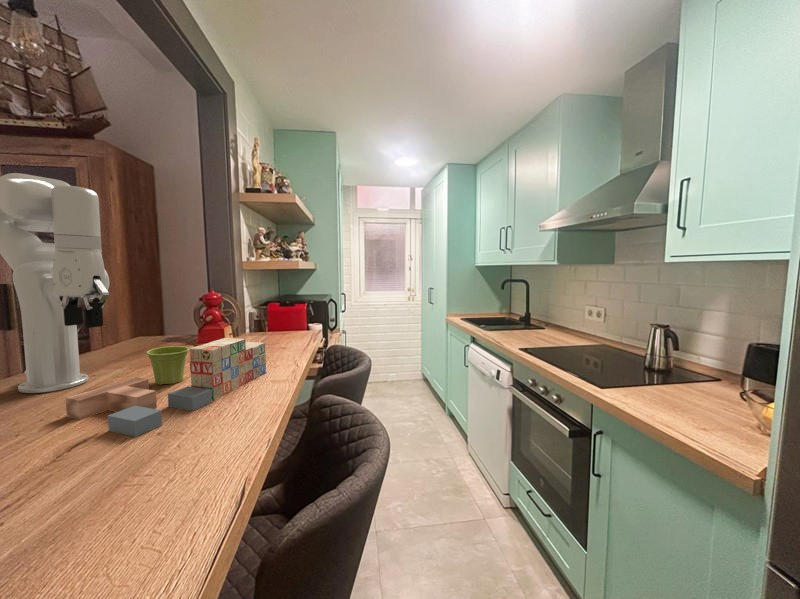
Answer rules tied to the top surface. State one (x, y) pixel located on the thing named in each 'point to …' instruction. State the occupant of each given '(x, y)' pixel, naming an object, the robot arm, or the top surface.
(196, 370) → the stack of blocks
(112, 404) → the t block
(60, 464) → the top surface
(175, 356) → the plant pot
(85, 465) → the top surface
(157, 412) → the t dock
